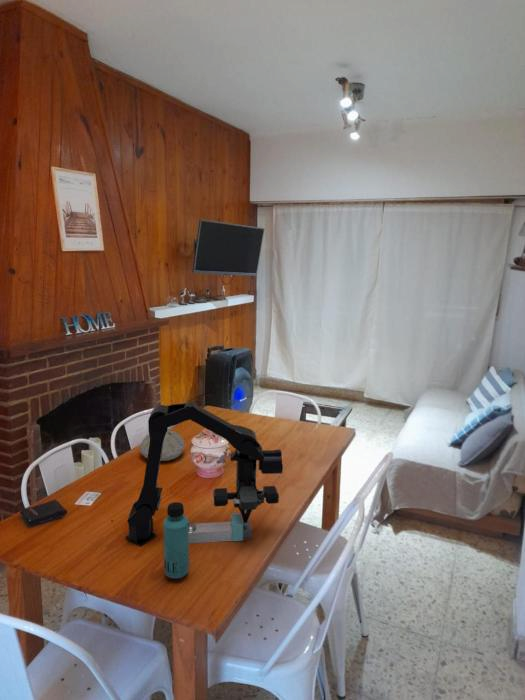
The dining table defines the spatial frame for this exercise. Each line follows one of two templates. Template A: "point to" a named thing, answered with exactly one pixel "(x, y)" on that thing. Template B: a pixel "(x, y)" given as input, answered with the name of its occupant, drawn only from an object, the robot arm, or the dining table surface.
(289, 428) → the dining table surface
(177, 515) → the beverage bottle
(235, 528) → the lock collar
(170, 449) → the grey rounded lump
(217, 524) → the tongs jaw
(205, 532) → the tongs body
